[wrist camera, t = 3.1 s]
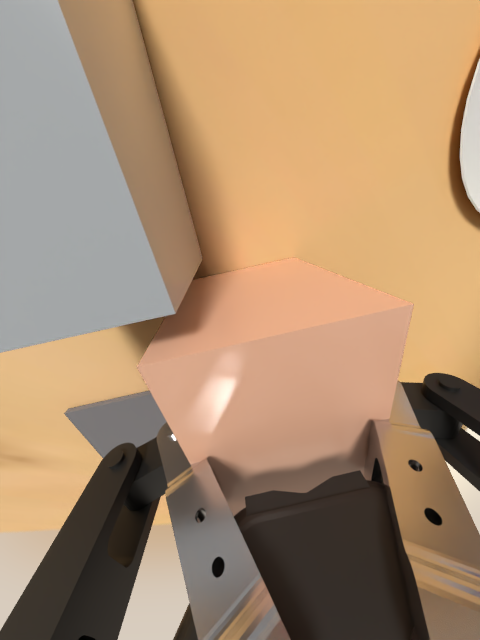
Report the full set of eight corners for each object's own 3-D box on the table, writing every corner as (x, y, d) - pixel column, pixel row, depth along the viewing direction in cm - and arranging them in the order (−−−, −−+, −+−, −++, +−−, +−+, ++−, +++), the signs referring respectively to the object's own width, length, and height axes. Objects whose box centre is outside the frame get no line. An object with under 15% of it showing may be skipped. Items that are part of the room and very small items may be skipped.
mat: (204, 378, 14) (204, 382, 14) (237, 469, 19) (238, 473, 19) (68, 408, 14) (64, 413, 14) (138, 491, 19) (137, 497, 19)
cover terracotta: (293, 257, 11) (414, 304, 4) (303, 386, 15) (370, 510, 9) (186, 281, 11) (136, 366, 4) (226, 404, 15) (233, 542, 9)
